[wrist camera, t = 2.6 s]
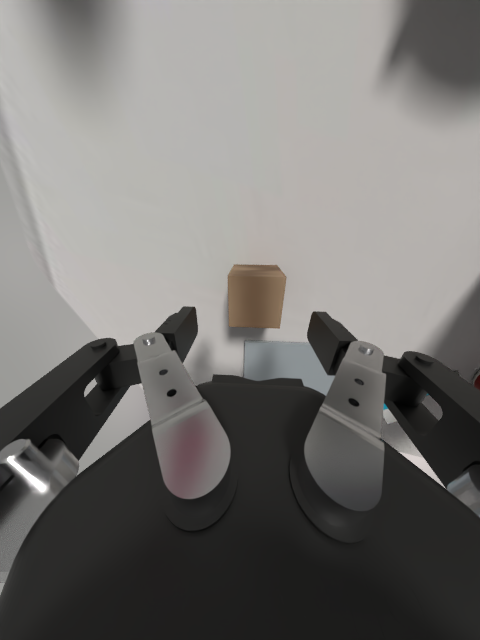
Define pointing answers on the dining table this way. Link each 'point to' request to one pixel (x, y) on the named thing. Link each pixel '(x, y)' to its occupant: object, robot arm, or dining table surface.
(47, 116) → the dining table surface
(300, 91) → the dining table surface
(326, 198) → the dining table surface
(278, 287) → the walnut block
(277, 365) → the grey pad
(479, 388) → the soda can
